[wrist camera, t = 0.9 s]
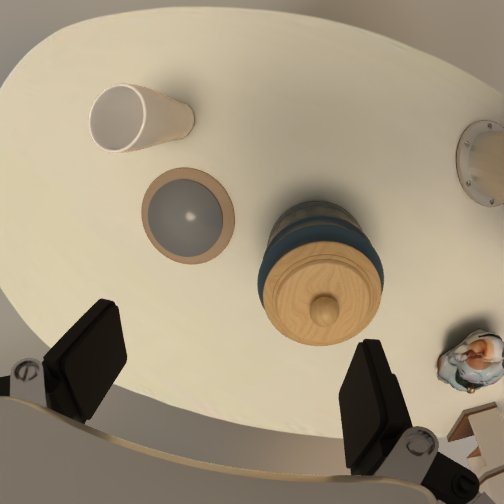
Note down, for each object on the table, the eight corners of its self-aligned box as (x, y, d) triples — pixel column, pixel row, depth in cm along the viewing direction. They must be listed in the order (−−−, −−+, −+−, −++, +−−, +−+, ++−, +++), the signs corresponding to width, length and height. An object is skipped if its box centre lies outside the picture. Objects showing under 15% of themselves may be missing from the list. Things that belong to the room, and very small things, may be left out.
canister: (296, 181, 37) (294, 216, 21) (379, 227, 38) (428, 291, 22) (253, 263, 42) (224, 341, 26) (331, 301, 43) (343, 390, 27)
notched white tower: (463, 410, 49) (498, 529, 17) (494, 401, 47) (534, 509, 15) (446, 436, 53) (470, 544, 21) (477, 428, 51) (506, 528, 19)
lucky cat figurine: (422, 375, 46) (442, 401, 33) (446, 316, 46) (474, 325, 33) (479, 392, 41) (507, 416, 28) (502, 336, 41) (537, 348, 28)
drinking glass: (147, 113, 36) (78, 110, 23) (187, 88, 34) (129, 67, 21) (167, 154, 38) (103, 167, 24) (209, 130, 36) (158, 128, 23)
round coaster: (189, 147, 37) (186, 147, 36) (255, 226, 40) (254, 229, 39) (126, 210, 42) (122, 212, 41) (185, 279, 45) (182, 283, 44)
